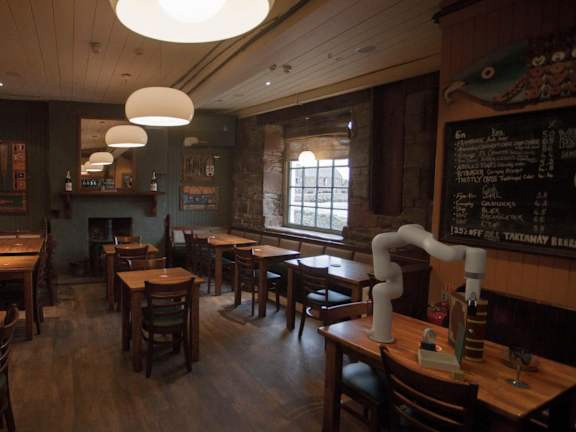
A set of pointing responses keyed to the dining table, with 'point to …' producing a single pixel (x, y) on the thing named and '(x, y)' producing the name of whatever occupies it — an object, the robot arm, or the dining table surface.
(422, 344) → the grey black upright piece
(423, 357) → the book
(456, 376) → the paperweight
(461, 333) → the book cover
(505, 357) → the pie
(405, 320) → the dining table surface
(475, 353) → the decorative book
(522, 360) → the wine glass
